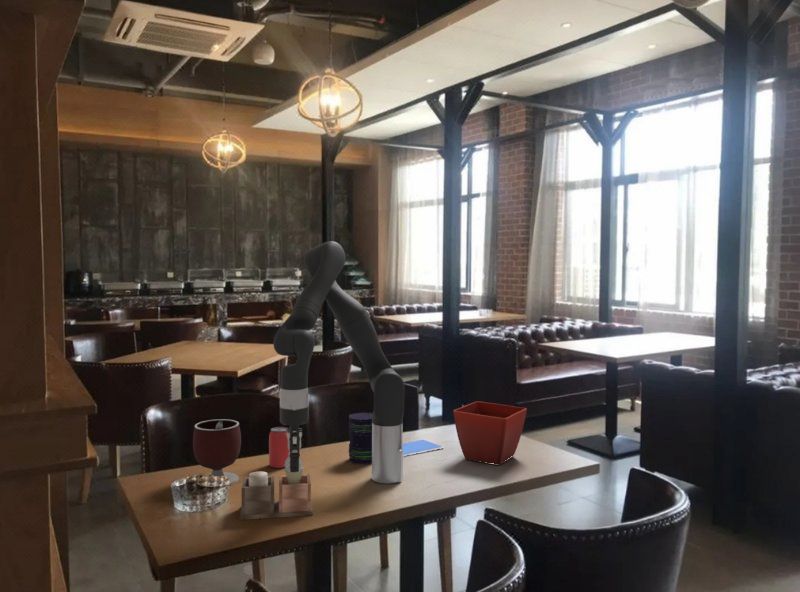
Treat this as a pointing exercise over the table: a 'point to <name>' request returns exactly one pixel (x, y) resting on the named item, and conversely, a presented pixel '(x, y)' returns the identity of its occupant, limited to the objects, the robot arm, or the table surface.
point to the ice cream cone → (293, 476)
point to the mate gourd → (217, 445)
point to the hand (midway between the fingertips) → (294, 468)
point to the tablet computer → (418, 447)
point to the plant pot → (489, 430)
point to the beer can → (278, 447)
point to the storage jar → (360, 438)
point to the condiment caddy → (262, 501)
